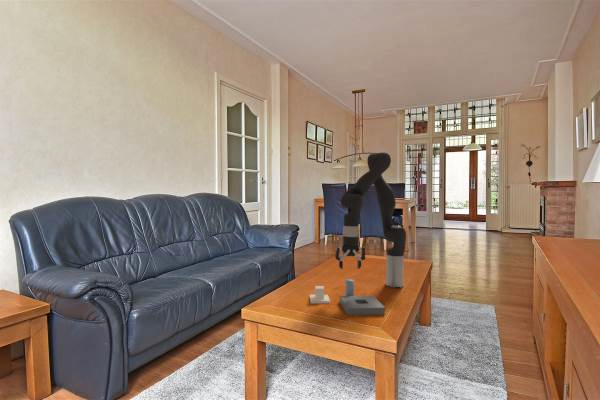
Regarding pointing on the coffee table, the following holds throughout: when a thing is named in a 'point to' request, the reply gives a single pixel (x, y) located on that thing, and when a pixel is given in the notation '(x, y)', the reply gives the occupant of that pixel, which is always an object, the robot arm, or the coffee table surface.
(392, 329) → the coffee table surface
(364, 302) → the socket plate
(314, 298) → the lid
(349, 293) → the peg
